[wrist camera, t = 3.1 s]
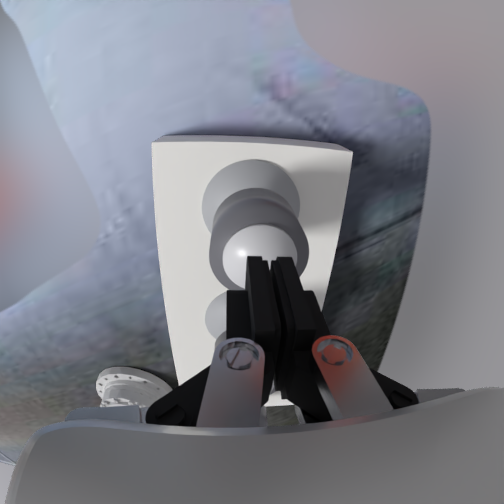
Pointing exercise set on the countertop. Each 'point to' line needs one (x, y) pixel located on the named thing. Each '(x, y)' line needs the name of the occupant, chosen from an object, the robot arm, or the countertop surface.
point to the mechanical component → (129, 387)
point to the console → (202, 214)
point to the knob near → (254, 235)
